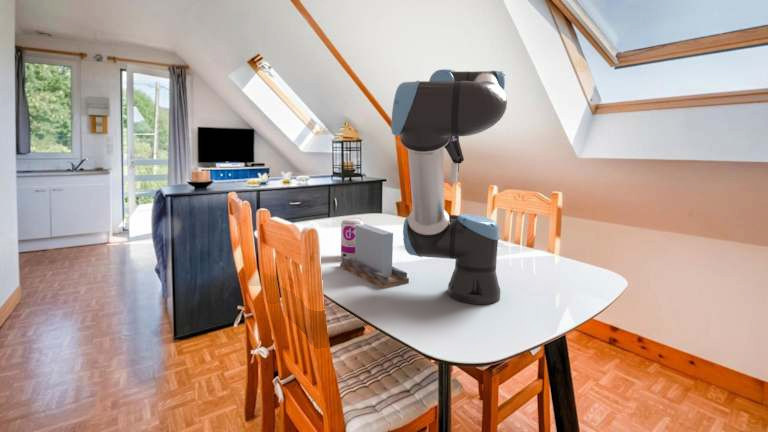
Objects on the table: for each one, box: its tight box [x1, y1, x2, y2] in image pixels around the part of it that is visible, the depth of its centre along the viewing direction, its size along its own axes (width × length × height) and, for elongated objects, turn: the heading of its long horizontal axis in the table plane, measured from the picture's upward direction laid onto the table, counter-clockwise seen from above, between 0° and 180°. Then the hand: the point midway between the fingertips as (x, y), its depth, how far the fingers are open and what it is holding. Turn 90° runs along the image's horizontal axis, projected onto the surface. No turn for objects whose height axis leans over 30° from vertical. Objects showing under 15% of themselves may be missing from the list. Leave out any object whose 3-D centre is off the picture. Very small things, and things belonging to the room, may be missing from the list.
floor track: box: [339, 256, 410, 290], centre depth 136 cm, size 26×10×4 cm, turn 36°
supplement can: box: [340, 217, 364, 260], centre depth 153 cm, size 8×8×15 cm
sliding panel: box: [355, 223, 394, 276], centre depth 135 cm, size 16×4×14 cm, turn 36°
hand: (440, 182), depth 140 cm, fingers open, 13 cm apart
